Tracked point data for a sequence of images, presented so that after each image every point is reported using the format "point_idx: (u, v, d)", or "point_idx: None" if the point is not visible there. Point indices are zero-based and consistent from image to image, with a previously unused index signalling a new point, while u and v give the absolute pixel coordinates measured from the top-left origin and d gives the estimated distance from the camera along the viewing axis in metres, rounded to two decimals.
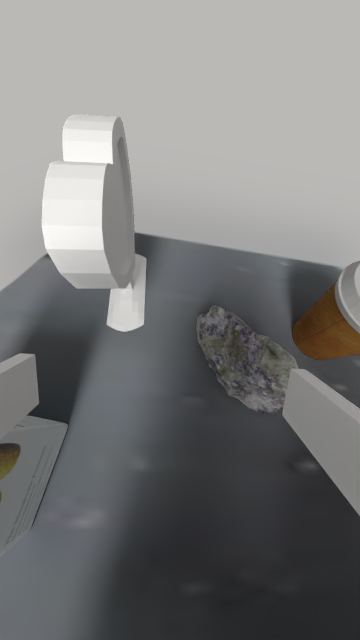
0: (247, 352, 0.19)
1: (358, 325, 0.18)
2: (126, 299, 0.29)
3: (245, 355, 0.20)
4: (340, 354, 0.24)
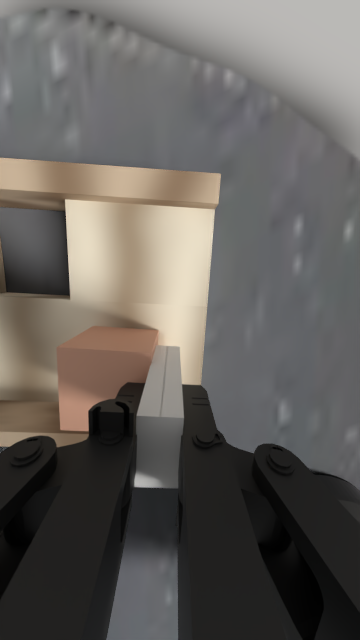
0: None
1: None
2: None
3: None
4: None
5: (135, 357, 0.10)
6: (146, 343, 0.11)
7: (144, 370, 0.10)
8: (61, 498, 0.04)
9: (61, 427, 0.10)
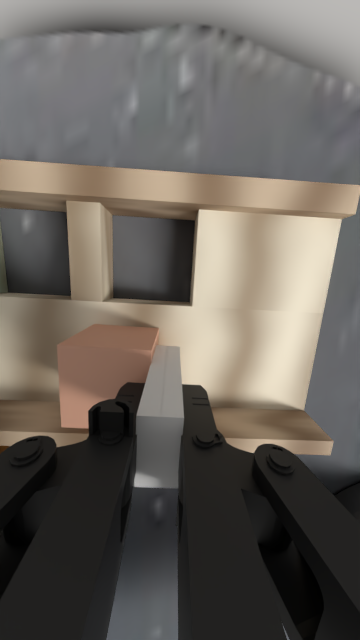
0: None
1: None
2: None
3: None
4: None
5: (135, 355, 0.10)
6: (147, 341, 0.11)
7: (144, 367, 0.10)
8: (61, 498, 0.04)
9: (62, 424, 0.11)
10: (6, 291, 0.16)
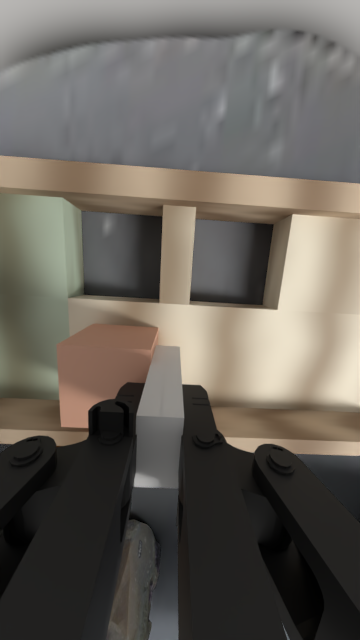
0: None
1: None
2: None
3: None
4: None
5: (135, 354, 0.10)
6: (146, 341, 0.11)
7: (143, 367, 0.10)
8: (61, 498, 0.04)
9: (62, 424, 0.11)
10: (83, 293, 0.16)
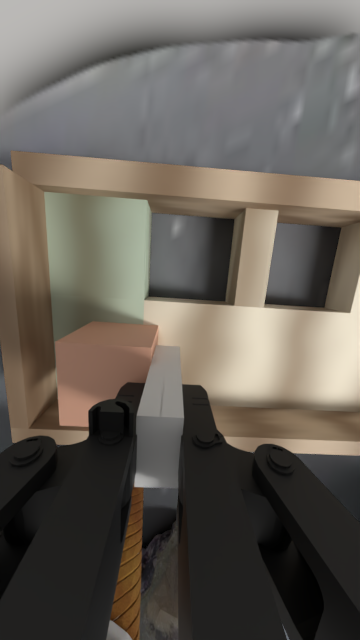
0: None
1: None
2: None
3: None
4: None
5: (135, 352, 0.10)
6: (146, 338, 0.11)
7: (143, 365, 0.10)
8: (61, 498, 0.04)
9: (60, 422, 0.10)
10: (148, 295, 0.16)
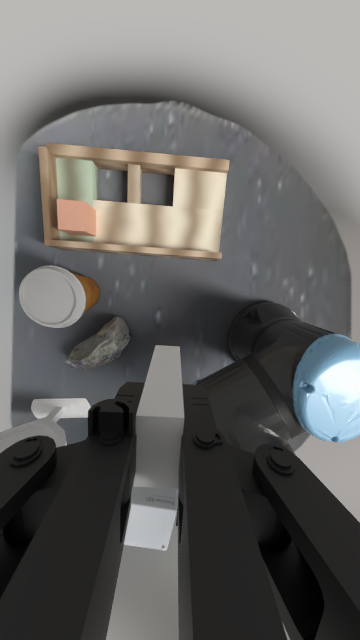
0: (92, 364, 0.37)
1: None
2: (69, 410, 0.46)
3: (94, 364, 0.37)
4: (93, 299, 0.38)
5: (80, 203, 0.32)
6: None
7: (83, 207, 0.32)
8: (61, 498, 0.04)
9: None
10: None
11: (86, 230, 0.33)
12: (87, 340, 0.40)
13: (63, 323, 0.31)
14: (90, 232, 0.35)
